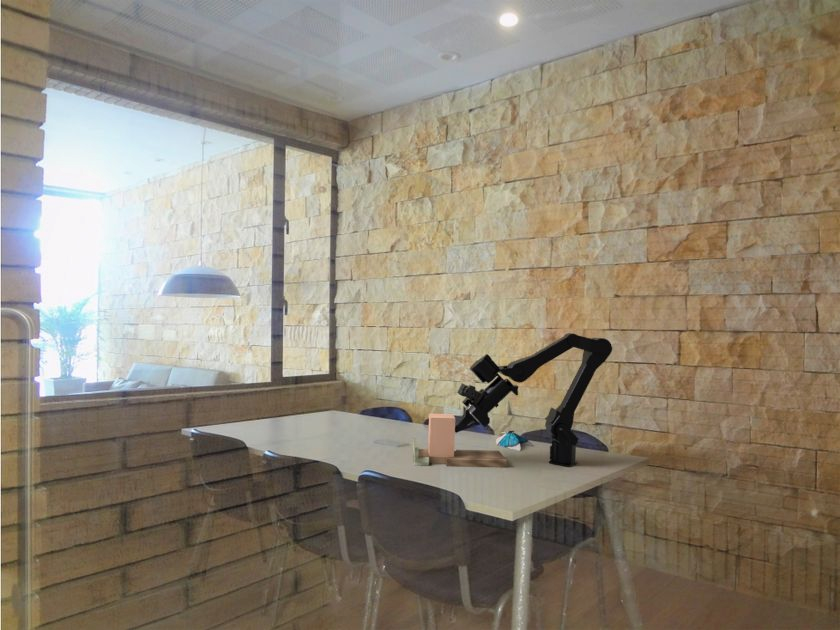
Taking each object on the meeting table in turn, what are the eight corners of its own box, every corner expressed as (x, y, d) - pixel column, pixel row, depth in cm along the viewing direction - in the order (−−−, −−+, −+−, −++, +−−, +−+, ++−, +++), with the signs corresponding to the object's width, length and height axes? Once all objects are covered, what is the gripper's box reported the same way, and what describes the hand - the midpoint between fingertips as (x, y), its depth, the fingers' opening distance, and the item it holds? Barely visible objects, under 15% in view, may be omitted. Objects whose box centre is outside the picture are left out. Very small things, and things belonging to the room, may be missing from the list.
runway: (498, 456, 175) (499, 440, 175) (506, 467, 163) (507, 449, 163) (412, 454, 173) (413, 438, 173) (414, 465, 161) (415, 447, 161)
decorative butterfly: (504, 430, 198) (530, 427, 192) (508, 449, 197) (534, 446, 191) (489, 434, 190) (516, 431, 184) (493, 454, 189) (520, 451, 183)
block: (451, 451, 171) (452, 414, 171) (453, 456, 164) (455, 418, 164) (427, 450, 171) (429, 413, 171) (429, 456, 164) (430, 417, 164)
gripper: (470, 371, 178) (433, 406, 177) (479, 377, 159) (438, 416, 158) (494, 397, 178) (457, 432, 177) (506, 407, 159) (465, 446, 159)
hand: (454, 431), depth 168 cm, fingers closed
